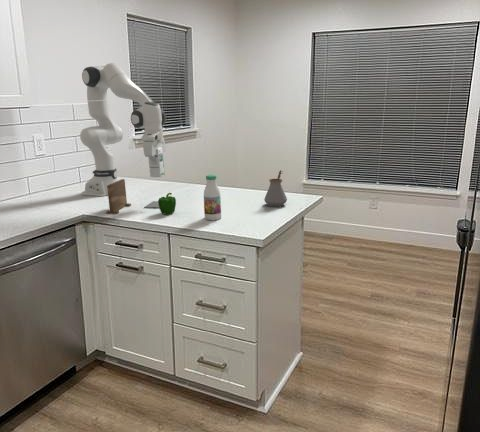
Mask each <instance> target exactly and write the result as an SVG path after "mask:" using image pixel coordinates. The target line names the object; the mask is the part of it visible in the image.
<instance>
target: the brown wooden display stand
mask: <svg viewBox="0 0 480 432" xmlns="http://www.w3.org/2000/svg"><path fill="white" fill-rule="evenodd" d="M107 190H108V195H107V197H108V199H107V200H108V205H109V206H108V207H109V209H108V210H105V214H107V215H108V214H109V215H110V214H111V215H117V214H120V211H121V210H122V209H124V208H126V207H127V208H129V207H131V206H132V203H130V202H129V203H128V201H127V190H126V180H125V179H124V178H121V179H119V180H117V181H116V182H114V183H112V184H110V185H107Z"/></svg>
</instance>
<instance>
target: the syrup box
mask: <svg viewBox="0 0 480 432" xmlns="http://www.w3.org/2000/svg"><path fill="white" fill-rule="evenodd" d="M156 150H157V155H155V161H156V164H154V165H152V164H151V160H150V157H147V158H148V166H149V176H150V178H161V177H164V176H166V174H165V163H164V152H163V151H162V147H160V148H157V149H156Z"/></svg>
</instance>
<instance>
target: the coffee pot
mask: <svg viewBox="0 0 480 432" xmlns="http://www.w3.org/2000/svg"><path fill="white" fill-rule="evenodd" d="M283 173H284V172H283V170H279V171H278V175H277V178H269V180H268V181H269V183H270V184H269V187H268V190H267V192H266V194H265V197H264V199H263V200H264V202H265V203H266V205H268V206H269V207H274V208H275V207H276V208H278V207H282V206H284V204H286V203H287V201H288V198H287V195H286V194H285V193H286V192H285V191H284V188H283V185H282V184H281V183H282V182H283V179H281V174H283Z"/></svg>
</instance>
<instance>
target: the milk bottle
mask: <svg viewBox="0 0 480 432" xmlns="http://www.w3.org/2000/svg"><path fill="white" fill-rule="evenodd" d="M205 179H206V185H205V188H204V189H203V190H204V191H203V211H204V219H205V220H208V221H217V220H220V219H221V218H222V202H221V199H222V198H221V190H220V188H219V186H218V184H217V175H216V174H206V176H205Z"/></svg>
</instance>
